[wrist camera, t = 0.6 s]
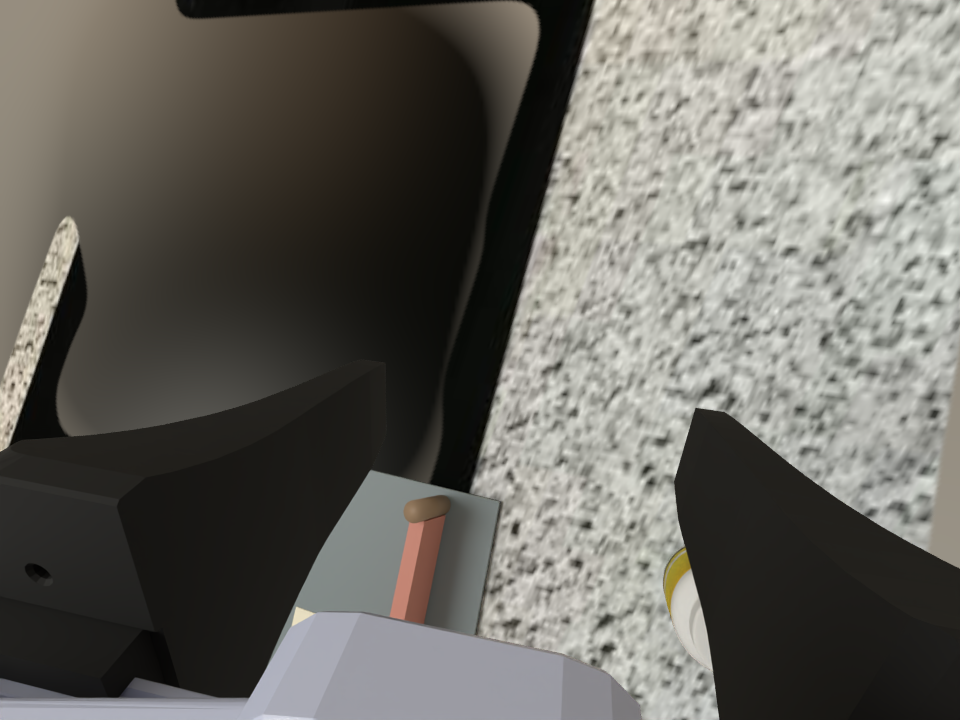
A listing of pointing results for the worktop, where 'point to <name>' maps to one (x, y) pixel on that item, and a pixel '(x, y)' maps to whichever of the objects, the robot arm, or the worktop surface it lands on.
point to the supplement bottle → (686, 607)
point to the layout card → (400, 556)
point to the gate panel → (419, 557)
